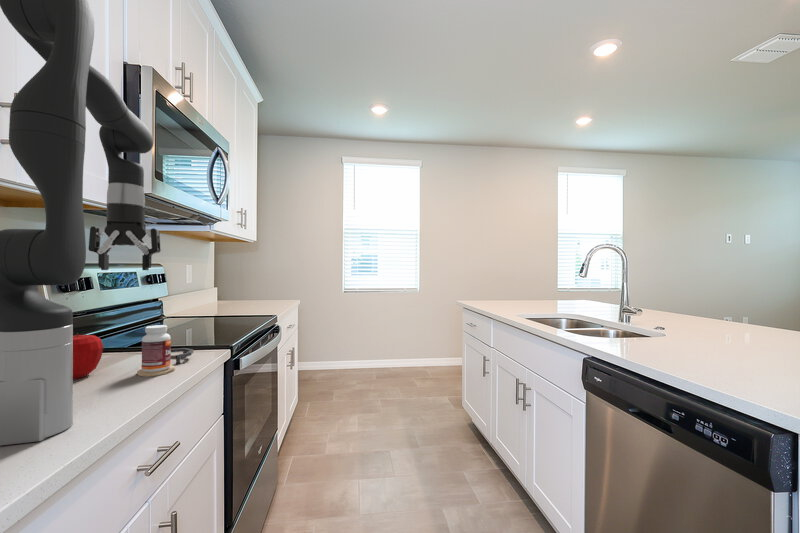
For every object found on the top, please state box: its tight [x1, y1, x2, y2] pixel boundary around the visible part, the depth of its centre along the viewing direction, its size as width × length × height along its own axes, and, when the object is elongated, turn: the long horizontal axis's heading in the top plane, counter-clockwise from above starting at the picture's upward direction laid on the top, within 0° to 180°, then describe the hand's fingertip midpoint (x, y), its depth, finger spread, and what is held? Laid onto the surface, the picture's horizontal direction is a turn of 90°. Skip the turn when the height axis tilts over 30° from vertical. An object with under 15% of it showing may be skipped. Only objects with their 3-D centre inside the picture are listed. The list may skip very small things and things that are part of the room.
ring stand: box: [171, 347, 195, 365], centre depth 105 cm, size 10×10×2 cm
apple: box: [73, 332, 104, 380], centre depth 90 cm, size 10×10×11 cm
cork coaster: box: [136, 365, 176, 377], centre depth 94 cm, size 8×8×1 cm
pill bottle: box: [141, 324, 172, 372], centre depth 94 cm, size 6×6×11 cm
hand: (125, 270), depth 91 cm, fingers open, 8 cm apart
